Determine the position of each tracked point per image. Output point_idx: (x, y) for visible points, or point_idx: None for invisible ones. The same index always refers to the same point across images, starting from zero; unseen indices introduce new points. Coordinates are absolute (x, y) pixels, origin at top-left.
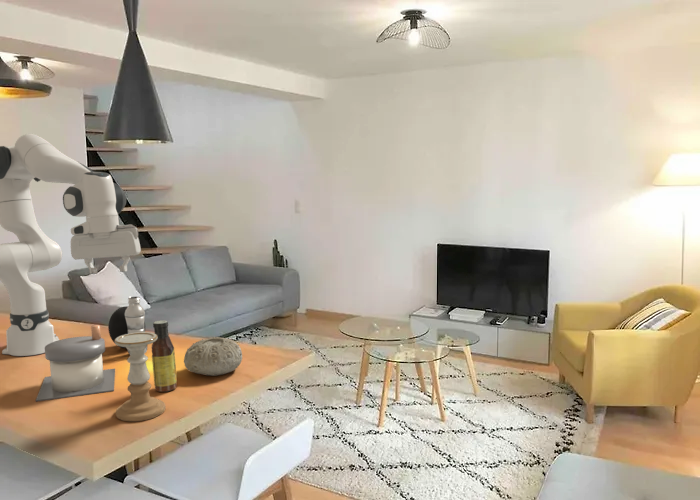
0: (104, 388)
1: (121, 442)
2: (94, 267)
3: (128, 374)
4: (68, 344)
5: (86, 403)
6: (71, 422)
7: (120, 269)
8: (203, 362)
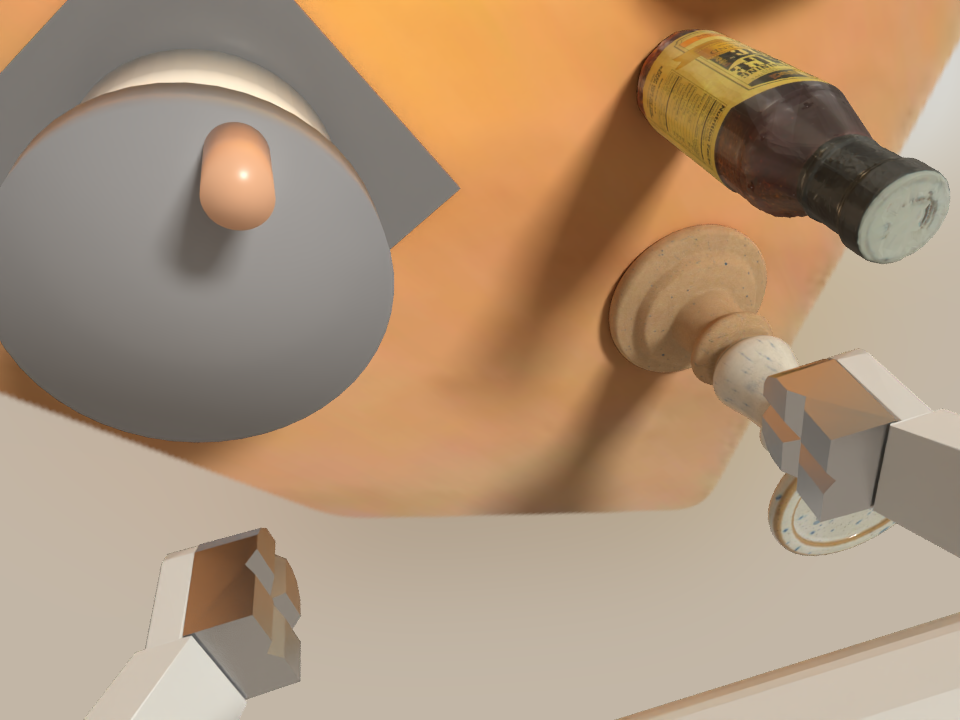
0: (405, 192)
1: (718, 439)
2: (244, 649)
3: (732, 408)
4: (170, 322)
5: (443, 319)
6: (511, 428)
7: (794, 469)
8: None
